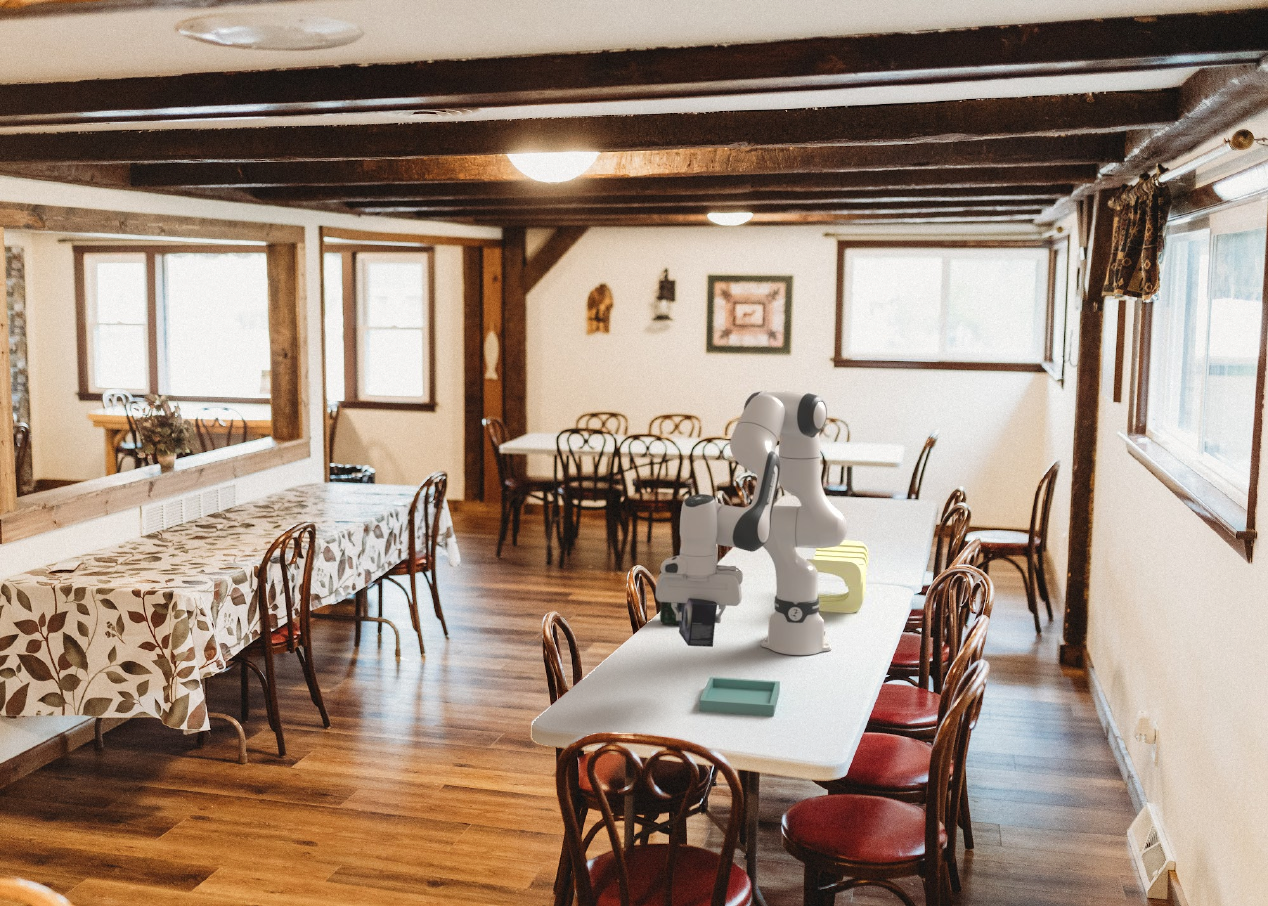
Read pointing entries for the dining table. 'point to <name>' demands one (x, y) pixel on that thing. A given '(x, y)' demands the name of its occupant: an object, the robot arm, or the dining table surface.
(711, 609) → the small box
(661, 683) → the dining table surface
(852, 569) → the slatted curved stool
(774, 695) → the teal tray
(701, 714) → the dining table surface
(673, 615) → the coffee jar
